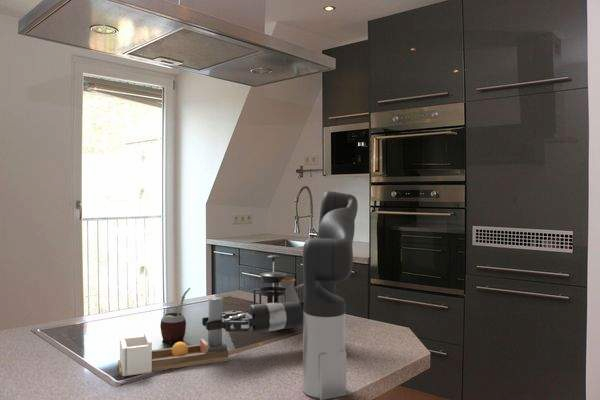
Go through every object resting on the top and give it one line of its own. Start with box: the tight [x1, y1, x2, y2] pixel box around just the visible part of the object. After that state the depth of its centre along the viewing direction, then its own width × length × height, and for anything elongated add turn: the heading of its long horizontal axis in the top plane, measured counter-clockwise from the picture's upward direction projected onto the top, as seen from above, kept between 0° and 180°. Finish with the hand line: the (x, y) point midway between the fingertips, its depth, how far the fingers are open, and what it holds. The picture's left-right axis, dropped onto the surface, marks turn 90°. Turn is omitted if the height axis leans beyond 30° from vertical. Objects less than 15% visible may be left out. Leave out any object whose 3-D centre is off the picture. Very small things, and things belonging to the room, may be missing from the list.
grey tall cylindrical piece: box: [199, 296, 228, 353], centre depth 122 cm, size 6×6×14 cm
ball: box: [171, 341, 189, 356], centre depth 119 cm, size 4×4×4 cm
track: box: [117, 343, 229, 377], centre depth 118 cm, size 8×26×2 cm, turn 115°
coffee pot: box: [278, 277, 304, 303], centre depth 166 cm, size 21×12×15 cm, turn 89°
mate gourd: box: [159, 287, 191, 347], centre depth 135 cm, size 8×8×15 cm
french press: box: [253, 254, 288, 305], centre depth 153 cm, size 12×9×23 cm
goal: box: [119, 331, 153, 377], centre depth 114 cm, size 9×6×7 cm
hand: (204, 323), depth 121 cm, fingers closed on grey tall cylindrical piece, 3 cm apart
